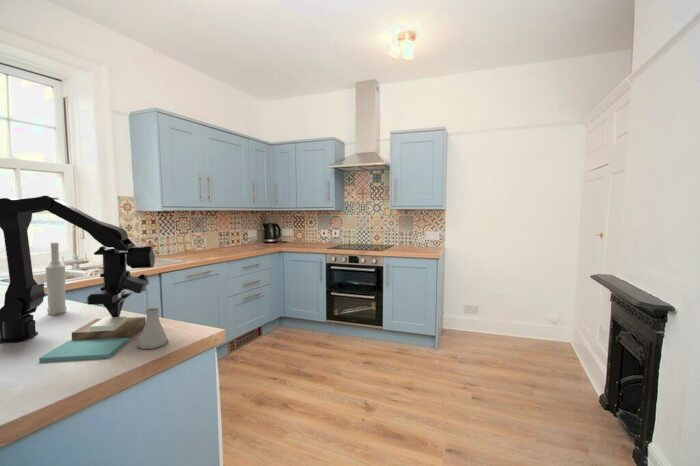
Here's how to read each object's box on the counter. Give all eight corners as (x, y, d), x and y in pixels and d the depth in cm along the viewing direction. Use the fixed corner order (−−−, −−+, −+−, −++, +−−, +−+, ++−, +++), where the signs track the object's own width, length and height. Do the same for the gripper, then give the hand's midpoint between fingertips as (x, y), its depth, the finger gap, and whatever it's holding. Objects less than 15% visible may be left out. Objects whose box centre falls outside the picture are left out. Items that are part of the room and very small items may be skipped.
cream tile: (89, 331, 92) (89, 326, 92) (104, 322, 100) (104, 317, 100) (114, 330, 94) (114, 325, 94) (126, 321, 101) (126, 316, 101)
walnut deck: (71, 343, 92) (71, 332, 91) (96, 328, 103) (96, 318, 103) (127, 340, 94) (127, 330, 94) (145, 326, 106) (145, 316, 106)
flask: (154, 351, 88) (153, 314, 87) (130, 348, 89) (130, 312, 88) (173, 341, 95) (173, 306, 94) (152, 338, 96) (151, 304, 95)
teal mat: (39, 361, 80) (39, 358, 80) (68, 344, 91) (68, 340, 91) (108, 358, 83) (108, 354, 83) (129, 341, 94) (128, 337, 94)
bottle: (55, 310, 120) (52, 241, 119) (70, 310, 121) (68, 242, 119) (43, 314, 115) (40, 243, 114) (59, 314, 116) (56, 243, 114)
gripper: (130, 274, 93) (131, 328, 94) (155, 263, 111) (156, 309, 112) (85, 275, 91) (87, 330, 92) (118, 264, 109) (119, 310, 110)
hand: (116, 319), depth 102 cm, fingers closed
